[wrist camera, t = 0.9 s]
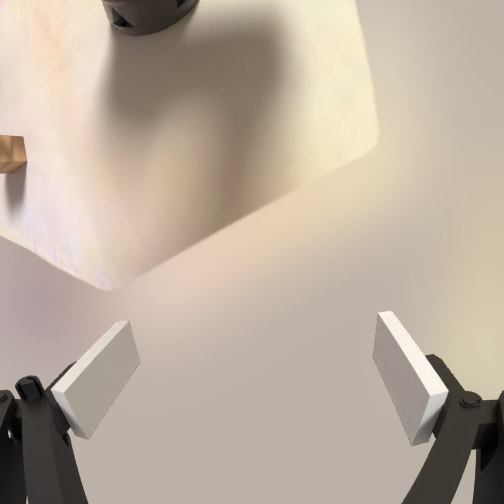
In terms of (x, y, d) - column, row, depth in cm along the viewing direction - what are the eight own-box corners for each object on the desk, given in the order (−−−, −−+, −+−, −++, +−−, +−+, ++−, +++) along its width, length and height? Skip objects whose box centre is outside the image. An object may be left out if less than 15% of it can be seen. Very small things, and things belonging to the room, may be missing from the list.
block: (8, 149, 40) (-22, 149, 32) (23, 136, 39) (-8, 134, 31) (12, 172, 41) (-19, 175, 33) (27, 161, 40) (-5, 161, 32)
